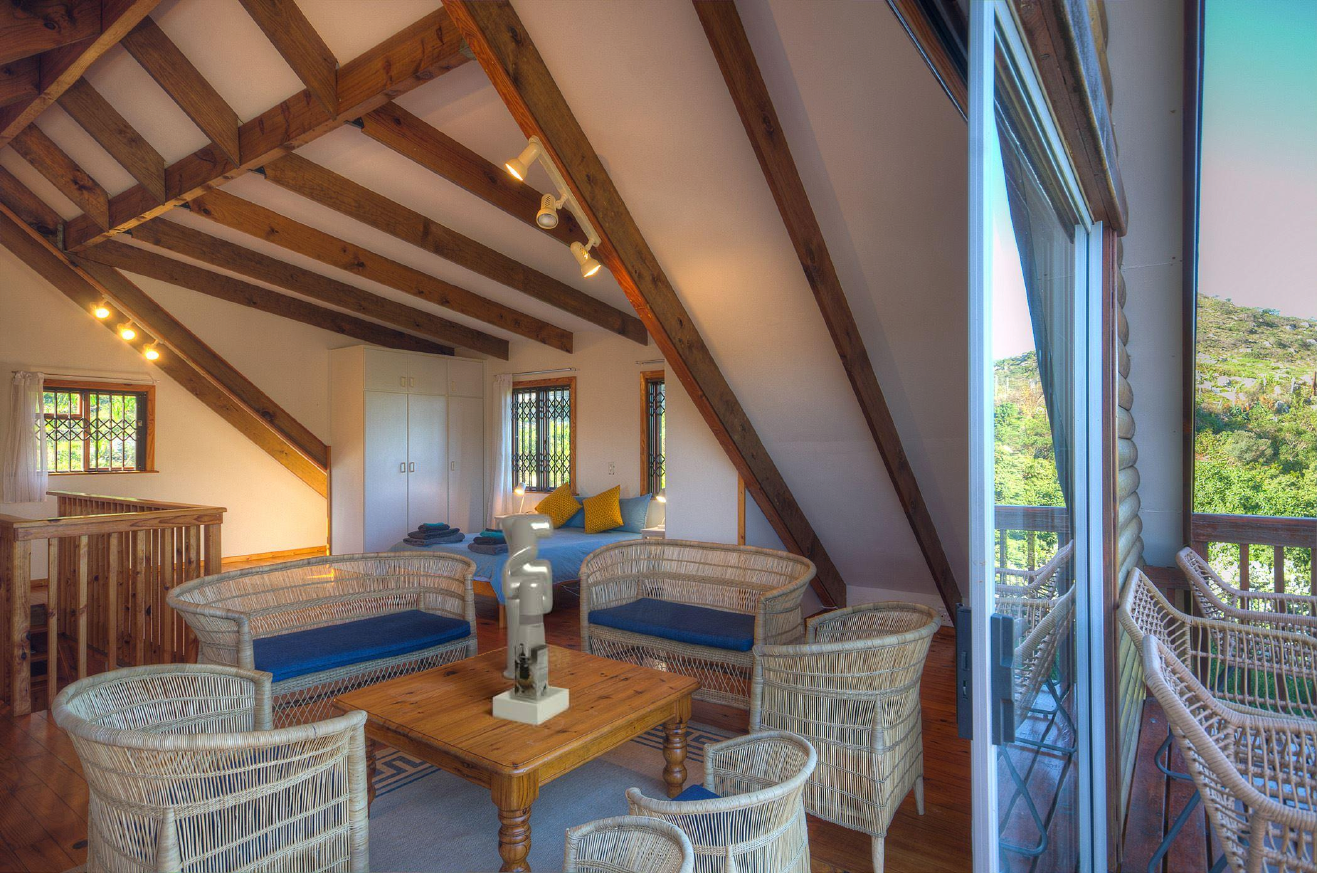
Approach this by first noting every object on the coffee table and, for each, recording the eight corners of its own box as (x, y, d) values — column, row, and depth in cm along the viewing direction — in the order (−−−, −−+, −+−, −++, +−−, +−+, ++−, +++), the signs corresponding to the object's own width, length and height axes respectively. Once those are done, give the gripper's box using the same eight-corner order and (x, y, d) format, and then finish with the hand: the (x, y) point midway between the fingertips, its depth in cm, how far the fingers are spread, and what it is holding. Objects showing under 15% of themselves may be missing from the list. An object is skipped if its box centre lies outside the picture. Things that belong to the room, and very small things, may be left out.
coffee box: (513, 697, 234) (513, 645, 234) (526, 691, 239) (526, 641, 240) (536, 701, 229) (536, 649, 230) (549, 695, 235) (548, 644, 235)
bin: (526, 700, 246) (526, 682, 246) (568, 707, 238) (568, 689, 238) (492, 716, 231) (492, 697, 231) (537, 725, 223) (537, 705, 223)
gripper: (537, 612, 244) (538, 667, 244) (504, 623, 229) (504, 681, 228) (556, 614, 241) (556, 669, 241) (524, 625, 226) (524, 684, 225)
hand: (531, 675), depth 234 cm, fingers closed on coffee box, 6 cm apart
